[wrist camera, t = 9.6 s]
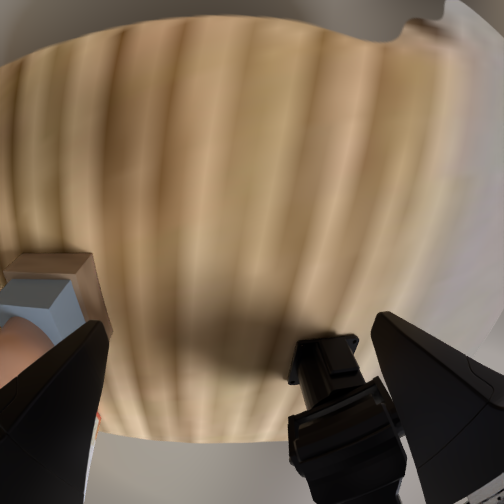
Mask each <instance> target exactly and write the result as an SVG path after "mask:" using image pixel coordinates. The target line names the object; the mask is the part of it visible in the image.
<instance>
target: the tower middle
mask: <svg viewBox="0 0 504 504" xmlns="http://www.w3.org/2000/svg"><path fill="white" fill-rule="evenodd" d="M14 316H17V317H22V318H25V319H27V320H29V321H31V322H32V323H34V324H35V325H36V326H38V327H39V328H40V329H41V330H42V331H43V332H44V333H45V334H46V335H47V336H48V337H49V338H50V340H51V341H52V343H53V344H54V346H55V345H57V344H58V343H59V342H60V341H62V340H63V339H64V338H66V337H67V336H68V335H70V334H71V333H72V332H74V331H75V330H76V329H78V328H79V327H80V326H82V325H83V324H84V323H86V322H85V320H84V317H83V314H82V312H81V309H80V306H79V303H78V300H77V298H76V295H75V292H74V289H73V286H72V282H71V280H50V279H11V280H10V281H9V283H8V284H7V285H6V286H5V287H4V288H3V289H2V290H1V291H0V326H1V328H2V327H3V326H4V324H5V323H6V322H7V321H8V319H9V318H11V317H14Z"/></svg>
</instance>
